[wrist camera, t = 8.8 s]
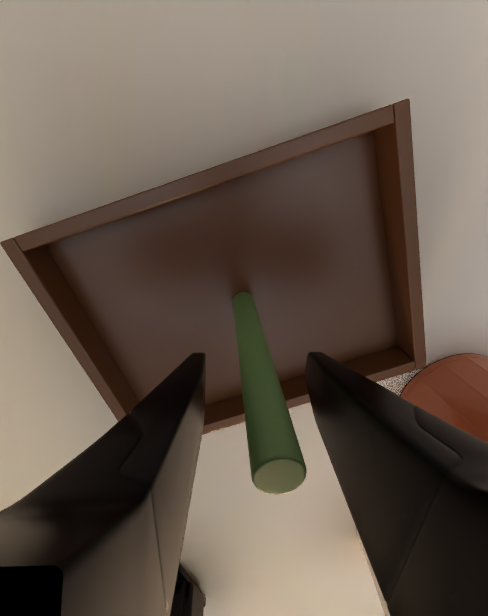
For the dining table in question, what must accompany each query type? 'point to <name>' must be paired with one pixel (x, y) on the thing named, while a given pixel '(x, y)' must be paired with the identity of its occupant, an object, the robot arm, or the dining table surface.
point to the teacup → (454, 392)
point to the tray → (245, 268)
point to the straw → (265, 407)
